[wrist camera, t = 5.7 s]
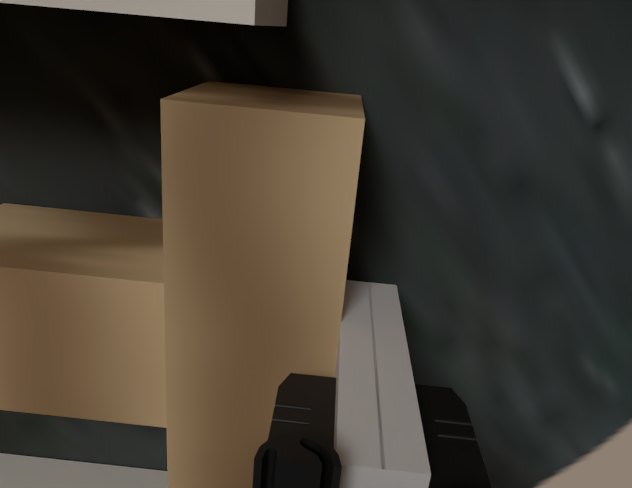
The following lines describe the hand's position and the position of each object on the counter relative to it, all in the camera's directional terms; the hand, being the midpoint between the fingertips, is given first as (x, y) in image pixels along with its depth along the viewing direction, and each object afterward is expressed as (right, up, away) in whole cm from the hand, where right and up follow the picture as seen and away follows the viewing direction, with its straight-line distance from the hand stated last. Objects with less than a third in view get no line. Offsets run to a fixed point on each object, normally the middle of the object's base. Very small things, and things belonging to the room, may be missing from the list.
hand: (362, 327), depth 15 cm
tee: (-6, +1, +2) cm, 6 cm away
